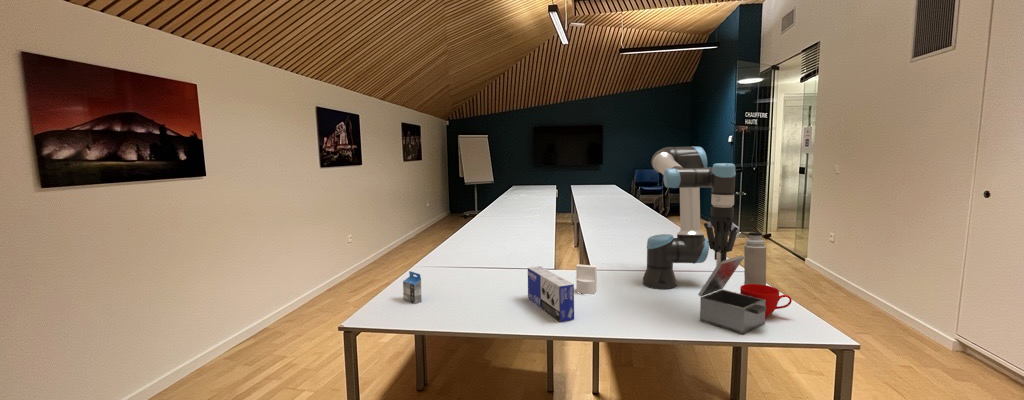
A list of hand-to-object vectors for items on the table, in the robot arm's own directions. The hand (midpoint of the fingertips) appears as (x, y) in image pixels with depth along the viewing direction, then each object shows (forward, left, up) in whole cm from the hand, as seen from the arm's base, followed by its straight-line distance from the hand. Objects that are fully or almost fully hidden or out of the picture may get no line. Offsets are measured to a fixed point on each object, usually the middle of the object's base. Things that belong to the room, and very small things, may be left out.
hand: (719, 269), depth 165 cm
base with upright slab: (-54, -15, -19) cm, 59 cm away
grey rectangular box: (+6, 0, -19) cm, 20 cm away
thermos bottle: (-2, +32, -19) cm, 37 cm away
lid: (+1, 0, -3) cm, 3 cm away
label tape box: (-93, -82, -19) cm, 125 cm away
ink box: (-48, -42, -19) cm, 67 cm away
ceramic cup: (+9, +17, -19) cm, 27 cm away
